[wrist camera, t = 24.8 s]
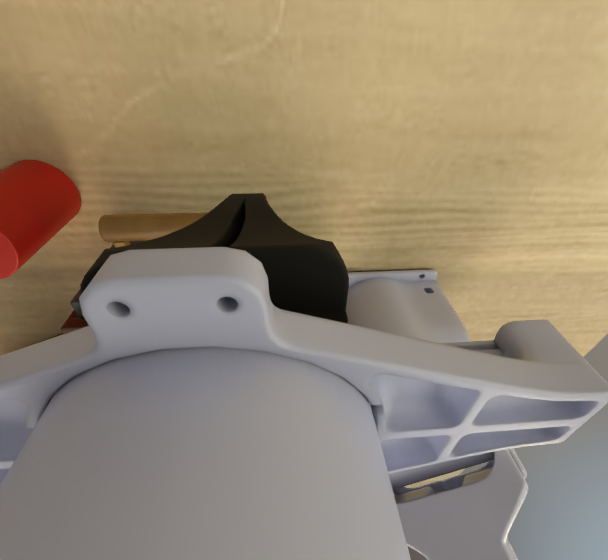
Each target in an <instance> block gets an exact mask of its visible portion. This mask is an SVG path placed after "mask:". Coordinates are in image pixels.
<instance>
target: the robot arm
mask: <svg viewBox="0 0 608 560" xmlns="http://www.w3.org/2000/svg"><path fill="white" fill-rule="evenodd" d="M421 274H423V275H421ZM420 275H421V276H420ZM437 275H438V274H437V272H436V270H433V269H430V270H404V271H378V272H351V273H348V272H347V269H346V266H345V264H344V262H343V259H342V258H341V256H340V254H339V252H338V250H337V249H336V247H335V245H334V244H333V242H330V241H325V240H320V239H316V238H313V237H310V236H307V235H304V234H302V233H300V232H298V231H296V230H294V229H293V228H291V227H290V226H288V225H287V224H286V223H284V222H283V221H282V220H281V219H280V218H279V217H278V216H277V215H276V213H275V212H274V211H273V209H272V208H271V207H270V205H269V203H268V202H267V200H266V196H265V195H264V194H263V193H255V194H232V195H230V196H229V197H228V198H226V199H225V200H224V201H223V202H222V203H220V204H219V205H218V206H217V207H215V208H214V209H213V210H212V211H210V212H209V213H207V214H206V215H204V216H203V217H202V218H200V219H199V220H197V221H195V222H194V223H192V224H190V225H188V226H186V227H184V228H182V229H180V230H177V231H175V232H172V233H170V234H167V235H165V236H162V237H159V238H156V239H152V240H149V241H145V242H141V243H137V244H132V245H127V246H121V247H116V248H110V249H105V250H104V251H103V253H102V254H101V255H100V257H99V258H98V259H97V260H96V262H95V263H94V264H93V266H92V267H91V268H90V270H89V271H88V272H87V274H86V275H85V276H84V279H83V281H82V283H81V296H80V297H79V301H80V306H81V310H82V315H83V317H84V318H85V320H86V321H87V323H88V325H89V326H87V327H84V328H81V329H78V330H75V331H72V332H69V333H66V334H63V335H60V336H57V337H54V338H51V339H48V340H45V341H42V342H39V343H36V344H33V345H31V346H28V347H25V348H22V349H19V350H16V351H13V352H10V353H7V354H4V355H1V356H0V560H411V559H410V555H409V551H408V547H407V545H408V546H410V547H411V548H413V549H414V550H416V551H418V552H419V553H421V554H422V555H424V556H425V557H426V558H427V559H428V560H518V559H517V557H516V555H515V553H514V551H513V549H512V547H511V545H510V543H509V541H508V539H507V535H508V532H509V530H510V528H511V525H512V523H513V521H514V519H515V517H516V515H517V513H518V511H519V509H520V507H521V505H522V503H523V501H524V499H525V497H526V495H527V492H528V485H527V483H526V481H525V478H526V477H527V472H526V470H525V468H524V467H523V465H522V463H521V461H520V460H519V458H518V456H517V454H516V453H515V451H514V449H513V448H518V447H525V446H532V445H543V444H552V443H561V442H563V441H564V440H565V439H566V438H567V437H568V436H570V435H571V434H572V433H573V432H574V431H575V430H577V429H578V428H579V427H580V426H581V425H582V424H584V423H585V422H586V421H587V420H588V419H589V418H590V417H592V416H593V415H594V414H595V413H596V412H598V411H599V410H600V409H601V408H602V407H603V406H604V405H606V404H607V403H608V383H607V382H606V381H605V380H604V379H603V378H602V377H601V376H600V375H599V374H598V373H597V372H596V371H595V370H594V368H593V367H592V366H591V365H590V364H589V363H588V362H587V361H586V360H585V359H584V358H583V357H582V356H581V355H580V354H579V353H578V352H577V351H576V349H575V348H574V347H573V346H572V345H571V344H570V343H569V342H568V341H567V340H566V339H565V338H564V337H563V336H562V335H561V334H560V333H559V331H558V330H557V329H556V328H555V327H554V326H553V325H552V324H551V323H550V322H549V321H548V320H527V321H513V322H508V323H506V324H505V325H503V326H502V327H501V328H500V329H499V331H498V332H497V334H496V337H495V339H494V340H492V341H473V342H470V340H469V336H468V333H467V331H466V328H465V326H464V324H463V322H462V321H461V319H460V318H459V316H458V315H457V313H456V312H455V310H454V308H453V307H452V305H451V304H450V302H449V301H448V299H447V298H446V296H445V295H444V293H443V291H442V290H441V288H440V287H439V285H438V284H437V282H436V278H437ZM488 461H489V462H488ZM484 462H488V463H487V465H486V466H484V467H482V468H480V469H478V470H475V471H472V472H469V473H465V474H462V475H458V476H455V477H451V478H448V479H444V480H441V481H437V482H434V483H430V484H427V485H424V486H420V487H416V488H406V487H403V486H406V485H410V484H413V483H417V482H420V481H423V480H427V479H430V478H434V477H437V476H440V475H444V474H447V473H451V472H454V471H457V470H461V469H464V468H468V467H471V466H474V465H478V464H481V463H484Z"/></svg>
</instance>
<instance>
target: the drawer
mask: <svg viewBox="0 0 608 560" xmlns="http://www.w3.org/2000/svg"><path fill="white" fill-rule="evenodd" d="M206 214H207V213H171V214H129V215H103V216H102V217H101V218H100V220H99V231H100V234H101V237H102V238H103V239H104V240H105V241H107V242H113V245H112V247H111V248H116V247H121V246H127V245H132V244H137V243H141V242H145V241H149V240H152V239H156V238H159V237H162V236H165V235H167V234H170V233H172V232H175V231H177V230H180V229H182V228H184V227H186V226H188V225H190V224H192V223H194V222H195V221H197V220H199V219H200V218H202V217H203V216H204V215H206ZM80 296H81V289H80V290H79V291H78V293H77V294H76V295H75V297H74V298H73V299H72V301H71V305H72V307H73V308H74V310H75V311H76V313H77V315H78V316H83V315H82V310H81V306H80V301H79V297H80Z"/></svg>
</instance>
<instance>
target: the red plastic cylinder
mask: <svg viewBox="0 0 608 560" xmlns="http://www.w3.org/2000/svg"><path fill="white" fill-rule="evenodd" d="M80 207H81V198H80V194H79V192H78V190H77V188H76V186H75V185H74V183H73V182H72V181H71V180H70V179H69V178H68V177H67V176H66V175H65V174H64V173H63V172H61V171H60V170H59V169H57V168H55V167H53V166H51V165H49V164H47V163H44V162H40V161H35V160H23V161H19V162H16V163H14V164H12V165H11V166H9V167H7V168H5V169H3V170H1V171H0V279H2V278H6V277H8V276H10V275H12V274H14V273H15V272H16V271H17V270H18V269H19V268H20V267H21V266H22V265H23V264H24V263H25V262H27V261H28V260H29V259H30V258H31V257H32V256H33V255H34V254H35V253H36V252H37V251H38V250H39V249H40V248H41V247H42V246H43V245H45V244H46V243H47V242H48V241H49V240H50V239H51V238H52V237H53V236H54V235H55V234H56V233H57V232H58V231H59V230H60V229H61V228H63V227H64V226H65V225H66V224H67V223H68V222H69V221H70V220H71V219H72V218H73V217H74V216H75V215H76V214H77V213H78V212H79V210H80Z"/></svg>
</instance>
